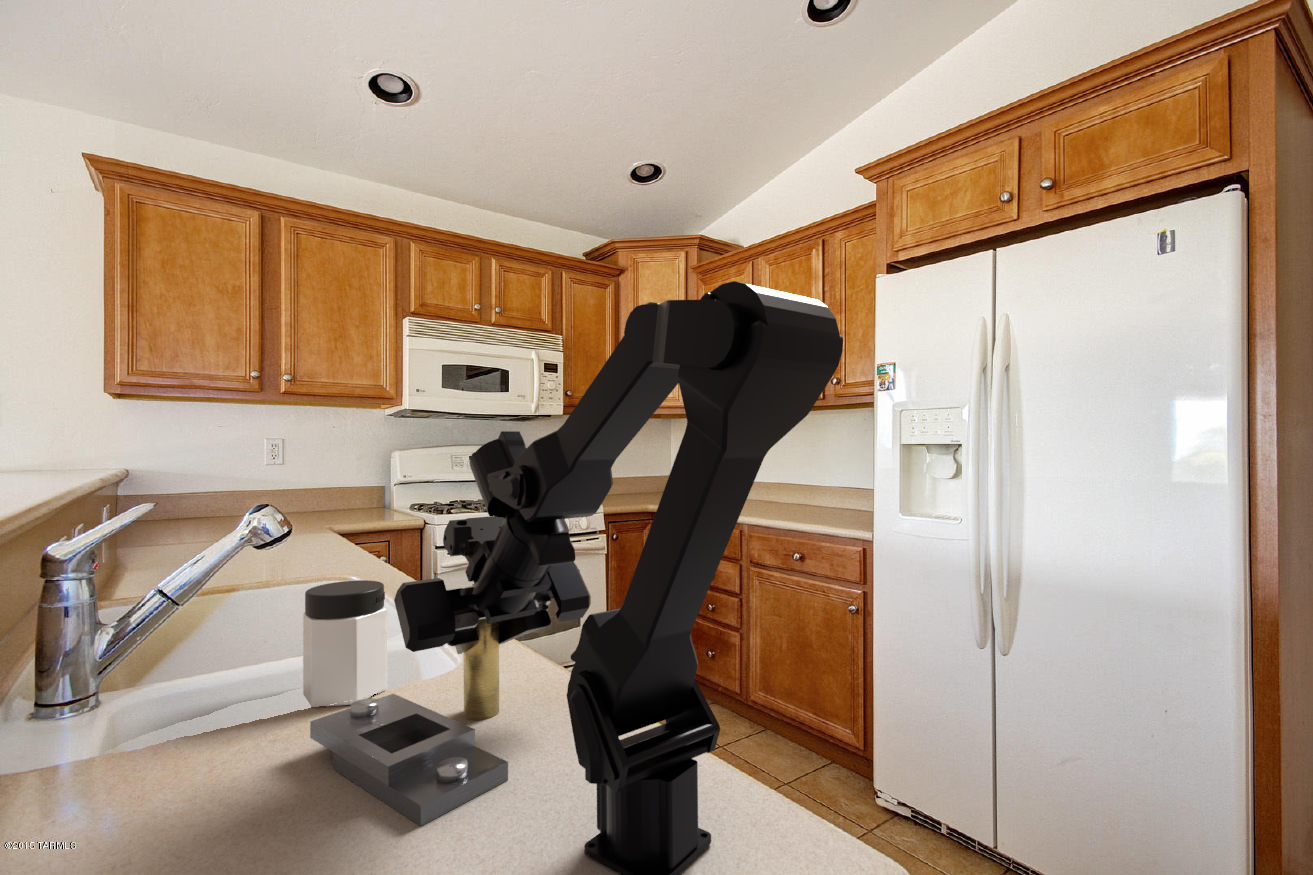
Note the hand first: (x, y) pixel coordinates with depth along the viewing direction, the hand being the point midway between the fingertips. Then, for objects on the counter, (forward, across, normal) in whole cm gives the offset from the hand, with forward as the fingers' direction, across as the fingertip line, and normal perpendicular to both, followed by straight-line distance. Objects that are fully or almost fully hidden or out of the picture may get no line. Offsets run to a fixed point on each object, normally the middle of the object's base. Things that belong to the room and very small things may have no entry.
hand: (476, 645), depth 67 cm
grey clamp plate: (-1, +10, +10) cm, 14 cm away
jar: (+14, +10, -5) cm, 18 cm away
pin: (+4, 0, +6) cm, 7 cm away
